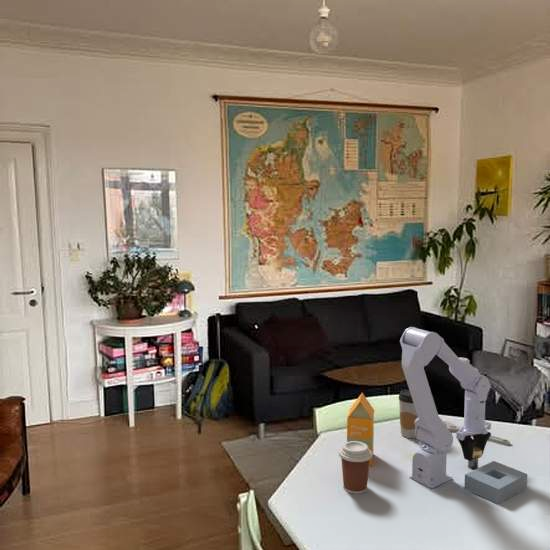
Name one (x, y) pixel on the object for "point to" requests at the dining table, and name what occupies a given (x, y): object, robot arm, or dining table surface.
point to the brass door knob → (475, 458)
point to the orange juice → (361, 423)
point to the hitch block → (495, 481)
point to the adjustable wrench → (455, 428)
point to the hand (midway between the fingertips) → (473, 457)
